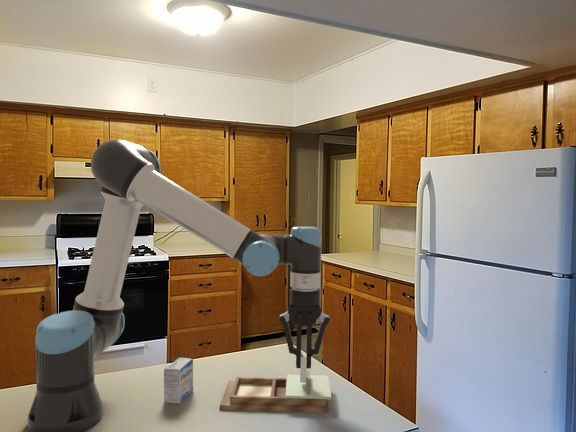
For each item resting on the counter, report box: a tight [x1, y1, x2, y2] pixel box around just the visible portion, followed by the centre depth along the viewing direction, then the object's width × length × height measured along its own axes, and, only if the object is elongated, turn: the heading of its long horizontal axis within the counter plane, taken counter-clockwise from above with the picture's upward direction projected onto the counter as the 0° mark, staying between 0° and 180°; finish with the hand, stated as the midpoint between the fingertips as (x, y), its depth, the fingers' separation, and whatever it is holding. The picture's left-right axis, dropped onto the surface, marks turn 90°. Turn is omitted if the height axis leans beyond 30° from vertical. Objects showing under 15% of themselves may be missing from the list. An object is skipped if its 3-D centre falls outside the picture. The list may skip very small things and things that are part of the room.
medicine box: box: [163, 357, 194, 405], centre depth 112 cm, size 8×4×9 cm, turn 168°
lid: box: [285, 370, 332, 400], centre depth 113 cm, size 11×12×2 cm
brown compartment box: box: [219, 376, 329, 414], centre depth 113 cm, size 26×14×3 cm, turn 88°
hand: (303, 380), depth 113 cm, fingers closed
